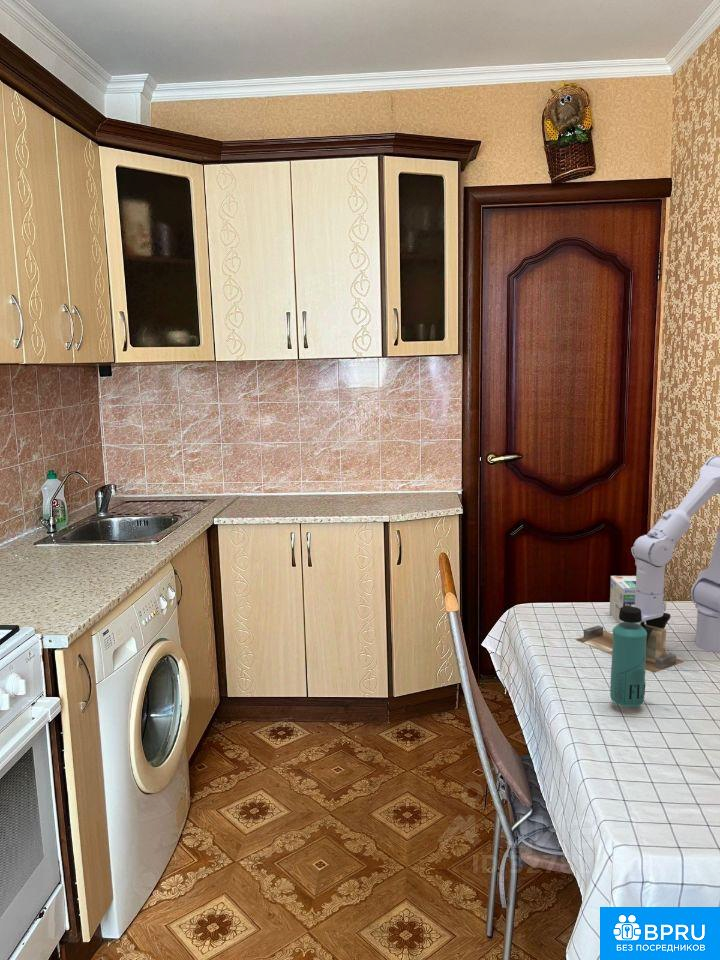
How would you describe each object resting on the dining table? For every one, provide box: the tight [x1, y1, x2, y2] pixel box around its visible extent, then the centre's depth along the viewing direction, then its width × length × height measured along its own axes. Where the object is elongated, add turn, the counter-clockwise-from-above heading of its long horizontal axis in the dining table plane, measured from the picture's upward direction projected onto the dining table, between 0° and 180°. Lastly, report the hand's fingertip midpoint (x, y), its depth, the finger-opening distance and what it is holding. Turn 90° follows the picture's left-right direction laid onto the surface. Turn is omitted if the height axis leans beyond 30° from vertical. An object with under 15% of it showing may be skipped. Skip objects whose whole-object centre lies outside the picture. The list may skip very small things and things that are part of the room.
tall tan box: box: [644, 624, 667, 663], centre depth 168 cm, size 3×7×7 cm, turn 46°
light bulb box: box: [609, 575, 646, 625], centre depth 191 cm, size 11×7×11 cm, turn 179°
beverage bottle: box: [609, 606, 647, 708], centre depth 146 cm, size 6×7×20 cm
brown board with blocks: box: [575, 625, 685, 674], centre depth 173 cm, size 10×22×3 cm, turn 32°
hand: (646, 649), depth 169 cm, fingers open, 7 cm apart
